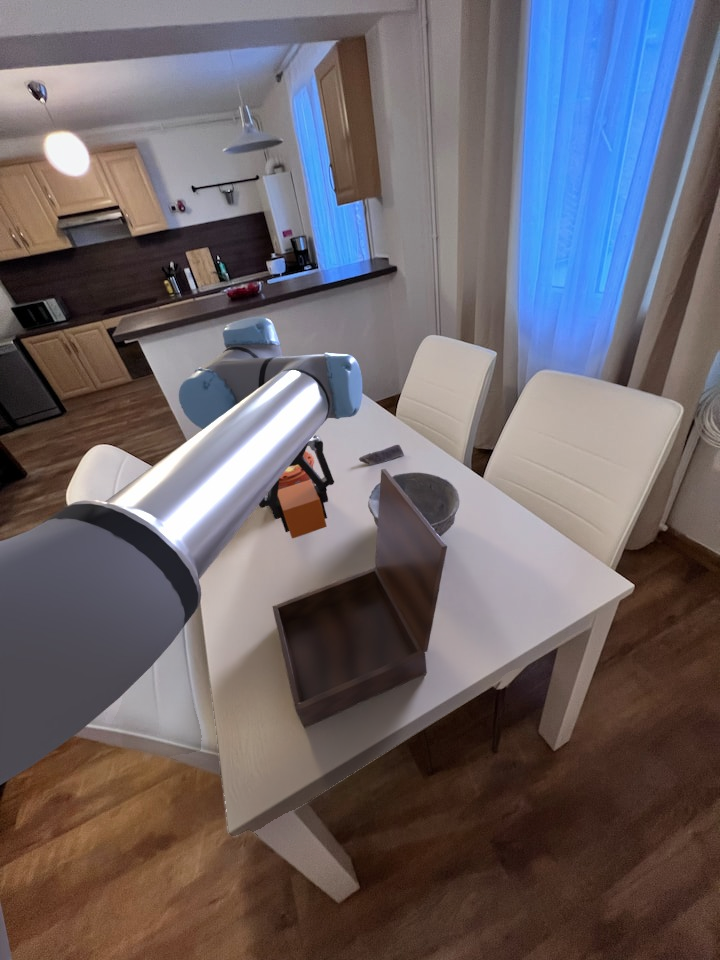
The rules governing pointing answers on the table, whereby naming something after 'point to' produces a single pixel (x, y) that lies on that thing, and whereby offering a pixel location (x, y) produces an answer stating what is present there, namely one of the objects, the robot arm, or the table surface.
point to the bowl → (425, 498)
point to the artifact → (382, 455)
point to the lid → (409, 558)
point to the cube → (301, 508)
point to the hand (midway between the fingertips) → (305, 520)
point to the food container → (295, 474)
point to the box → (345, 645)
